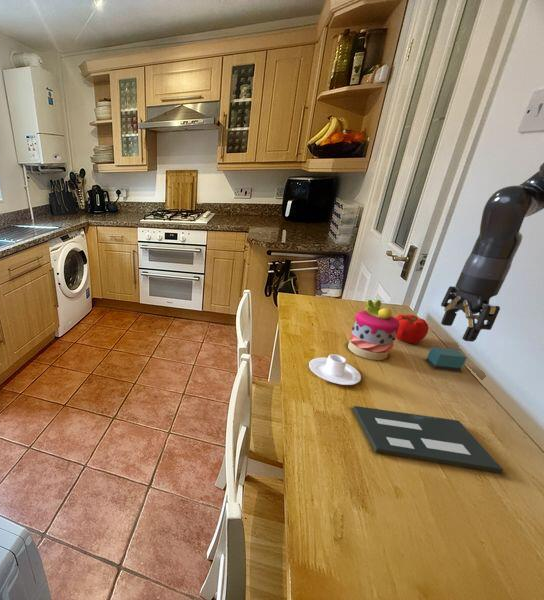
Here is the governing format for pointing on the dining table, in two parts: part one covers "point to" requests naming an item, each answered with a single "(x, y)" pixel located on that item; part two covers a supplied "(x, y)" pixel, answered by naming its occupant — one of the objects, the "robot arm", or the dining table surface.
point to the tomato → (411, 328)
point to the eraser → (446, 359)
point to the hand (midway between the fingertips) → (456, 332)
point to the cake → (373, 332)
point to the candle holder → (335, 370)
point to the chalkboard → (424, 438)
